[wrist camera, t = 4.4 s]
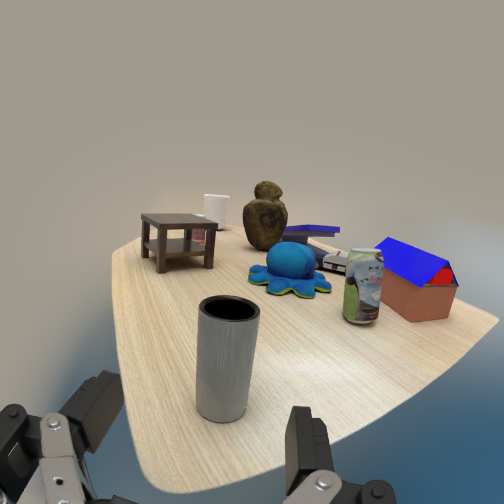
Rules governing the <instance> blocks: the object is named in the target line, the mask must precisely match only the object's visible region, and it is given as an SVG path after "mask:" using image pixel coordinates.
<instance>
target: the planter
mask: <svg viewBox="0 0 504 504" xmlns="http://www.w3.org/2000/svg"><path fill="white" fill-rule="evenodd" d="M259 319H260V309H259V307H258V306H257V305H256V304H255V303H253V302H252V301H250V300H247V299H245V298H241V297H237V296H230V295H218V296H212V297H208V298H206V299H204V300H203V301H201V303H200V304H199V313H198V335H197V365H196V407H197V410H198V412H199V413H200V414H201V415H202V416H203V417H205V418H207V419H208V420H211V421H214V422H220V423H226V422H232V421H235V420H237V419H239V418H240V417H241V416H242V415H243V414H244V412H245V409H246V405H247V398H248V392H249V386H250V379H251V373H252V366H253V360H254V353H255V346H256V340H257V333H258V326H259Z"/></svg>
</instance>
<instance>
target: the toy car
mask: <svg viewBox="0 0 504 504" xmlns="http://www.w3.org/2000/svg"><path fill="white" fill-rule="evenodd" d="M347 256H348V254H346V253H342V252H340V251H339V252H333V253H330V254H327V255H324V254H315V259H316V266H315V269H318V268H319V267H324V268H329V269H333V270H338V271H342V272H344V271H345V275H346V264H347Z"/></svg>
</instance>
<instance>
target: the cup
mask: <svg viewBox="0 0 504 504" xmlns="http://www.w3.org/2000/svg"><path fill="white" fill-rule="evenodd" d="M229 202H230V197H229V196H223V195H213V194H204V215H205V219H208V220H211V221H214V222H217V223H218V229H217V230H219V231H222V230H223V228H224V226H225V222H226V217H227V211H228V207H229Z"/></svg>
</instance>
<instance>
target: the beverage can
mask: <svg viewBox="0 0 504 504" xmlns="http://www.w3.org/2000/svg"><path fill="white" fill-rule="evenodd" d="M383 266H384V258H383V256H382V254H381V250H379V249H373V248H351V252H350V253H349V254H348V256H347V264H346V279H345V291H344V302H343V312H342V314H343V316H344V317H346V318H347V320H349V321H351V322H354V323H361V324H365V323H370V322H372V321H373V320H375V319H376V318H377V317H378V313H379V305H380V297H381V288H382V277H383Z"/></svg>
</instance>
